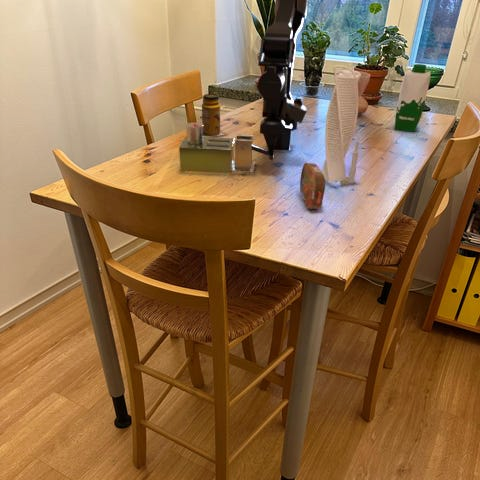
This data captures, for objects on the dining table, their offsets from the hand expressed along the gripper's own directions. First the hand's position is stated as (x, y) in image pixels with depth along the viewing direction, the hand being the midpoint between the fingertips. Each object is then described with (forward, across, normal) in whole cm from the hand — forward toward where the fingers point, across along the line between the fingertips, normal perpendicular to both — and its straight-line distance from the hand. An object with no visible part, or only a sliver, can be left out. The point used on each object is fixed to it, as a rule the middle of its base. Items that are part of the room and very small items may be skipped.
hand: (271, 151), depth 127 cm
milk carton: (+6, +49, -48) cm, 68 cm away
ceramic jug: (+6, +66, -28) cm, 72 cm away
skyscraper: (+6, -5, -17) cm, 19 cm away
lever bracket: (+5, 0, +8) cm, 9 cm away
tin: (+6, -20, -10) cm, 23 cm away
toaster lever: (+1, 0, +4) cm, 4 cm away
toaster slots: (-2, 0, +15) cm, 15 cm away
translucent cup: (-2, 0, +21) cm, 21 cm away
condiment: (+6, +32, +22) cm, 39 cm away
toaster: (+5, 0, +18) cm, 18 cm away
